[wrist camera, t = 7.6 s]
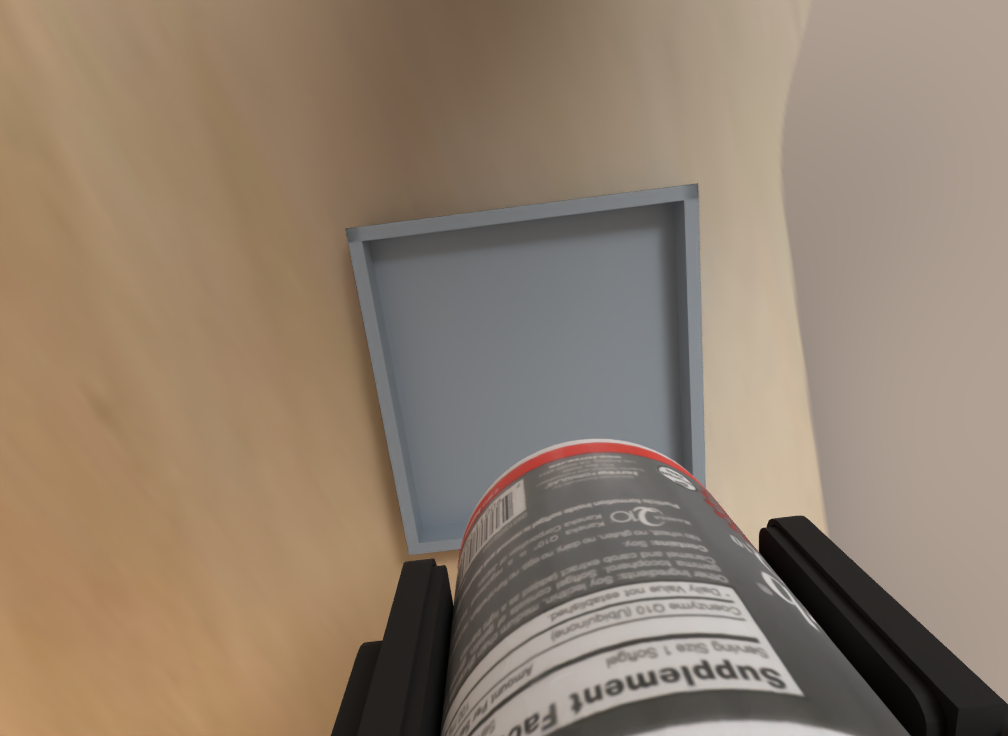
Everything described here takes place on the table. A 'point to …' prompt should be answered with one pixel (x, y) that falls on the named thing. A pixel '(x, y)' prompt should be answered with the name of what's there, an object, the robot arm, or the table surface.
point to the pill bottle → (633, 613)
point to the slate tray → (530, 341)
